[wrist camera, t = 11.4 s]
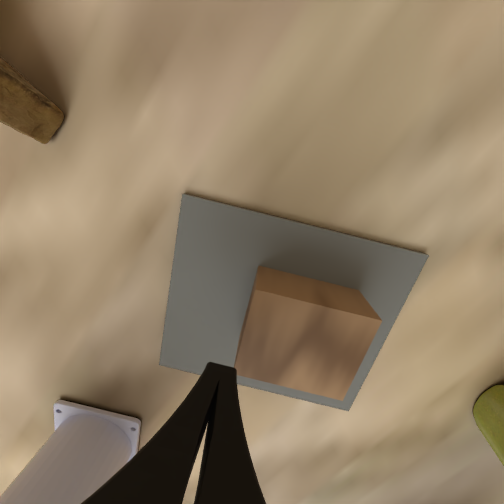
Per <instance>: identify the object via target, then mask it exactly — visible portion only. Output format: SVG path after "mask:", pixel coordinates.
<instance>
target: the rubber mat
mask: <svg viewBox="0 0 504 504" xmlns="http://www.w3.org/2000/svg"><path fill="white" fill-rule="evenodd" d="M428 256H429V255H427V254H425V253H421V252H417V251H413V250H409V249H405V248H401V247H397V246H393V245H389V244H385V243H381V242H377V241H373V240H369V239H365V238H361V237H357V236H353V235H349V234H345V233H341V232H337V231H333V230H329V229H325V228H321V227H317V226H313V225H309V224H305V223H301V222H297V221H293V220H289V219H285V218H281V217H277V216H273V215H269V214H265V213H261V212H257V211H253V210H249V209H245V208H241V207H237V206H233V205H229V204H225V203H221V202H217V201H213V200H209V199H205V198H201V197H197V196H193V195H189V194H185V193H184V194H182V200H181V207H180V214H179V222H178V229H177V236H176V244H175V251H174V259H173V266H172V273H171V281H170V288H169V295H168V303H167V310H166V317H165V325H164V332H163V340H162V347H161V354H160V362H159V365H161V366H165V367H170V368H174V369H178V370H182V371H186V372H190V373H194V374H198V375H202V373H203V371H204V369H205V367H206V365H207V363H208V362H214V363H218V364H222V365H226V366H230V367H234V364H235V358H236V353H237V348H238V342H239V337H240V333H241V329H242V326H243V322H244V318H245V314H246V310H247V307H248V303H249V299H250V295H251V292H252V288H253V284H254V280H255V277H256V273H257V269H258V265H259V266H263V267H267V268H271V269H275V270H279V271H283V272H287V273H291V274H295V275H299V276H304V277H308V278H312V279H316V280H320V281H324V282H328V283H332V284H336V285H340V286H344V287H348V288H352V289H356V290H359V291H360V292H361V294H362V295H363V296H364V298H365V299H366V300H367V301H368V303H369V304H370V305H371V307H372V308H373V309H374V310H375V312H376V313H377V314H378V316H379V317H380V318H381V320H382V322H381V325H380V327H379V329H378V331H377V333H376V335H375V337H374V339H373V341H372V343H371V345H370V347H369V349H368V351H367V353H366V355H365V357H364V359H363V361H362V363H361V365H360V367H359V369H358V371H357V373H356V375H355V377H354V379H353V381H352V383H351V385H350V387H349V389H348V391H347V393H346V395H345V397H344V399H343V401H341V400H337V399H333V398H329V397H325V396H321V395H316V394H312V393H308V392H304V391H300V390H296V389H292V388H288V387H284V386H280V385H276V384H272V383H267V382H263V381H259V380H255V379H251V378H247V377H243V376H239V375H237V384H239V385H243V386H247V387H251V388H256V389H260V390H264V391H268V392H272V393H276V394H280V395H284V396H288V397H292V398H296V399H301V400H305V401H309V402H313V403H317V404H321V405H325V406H329V407H333V408H337V409H341V410H346V411H349V410H350V408H351V406H352V404H353V402H354V400H355V398H356V396H357V394H358V392H359V390H360V388H361V386H362V384H363V382H364V380H365V379H366V377H367V375H368V373H369V371H370V369H371V367H372V365H373V363H374V361H375V359H376V357H377V355H378V353H379V351H380V349H381V347H382V346H383V344H384V342H385V340H386V338H387V336H388V334H389V332H390V330H391V328H392V326H393V324H394V322H395V320H396V318H397V316H398V315H399V313H400V311H401V309H402V307H403V305H404V303H405V301H406V299H407V297H408V295H409V293H410V291H411V289H412V287H413V285H414V284H415V282H416V280H417V278H418V276H419V274H420V272H421V270H422V268H423V266H424V264H425V262H426V260H427V258H428Z"/></svg>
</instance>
